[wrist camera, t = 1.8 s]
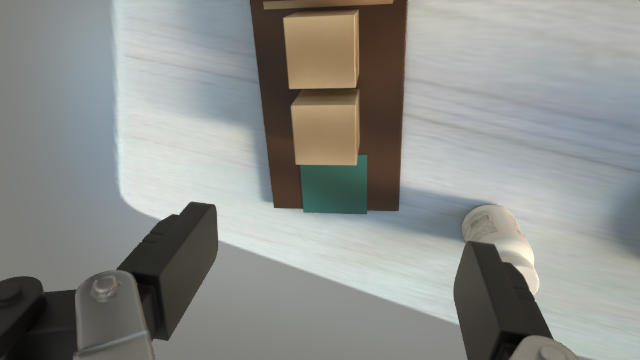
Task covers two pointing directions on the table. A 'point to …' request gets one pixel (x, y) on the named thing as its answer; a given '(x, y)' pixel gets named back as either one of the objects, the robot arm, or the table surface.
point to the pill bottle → (502, 239)
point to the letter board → (373, 101)
